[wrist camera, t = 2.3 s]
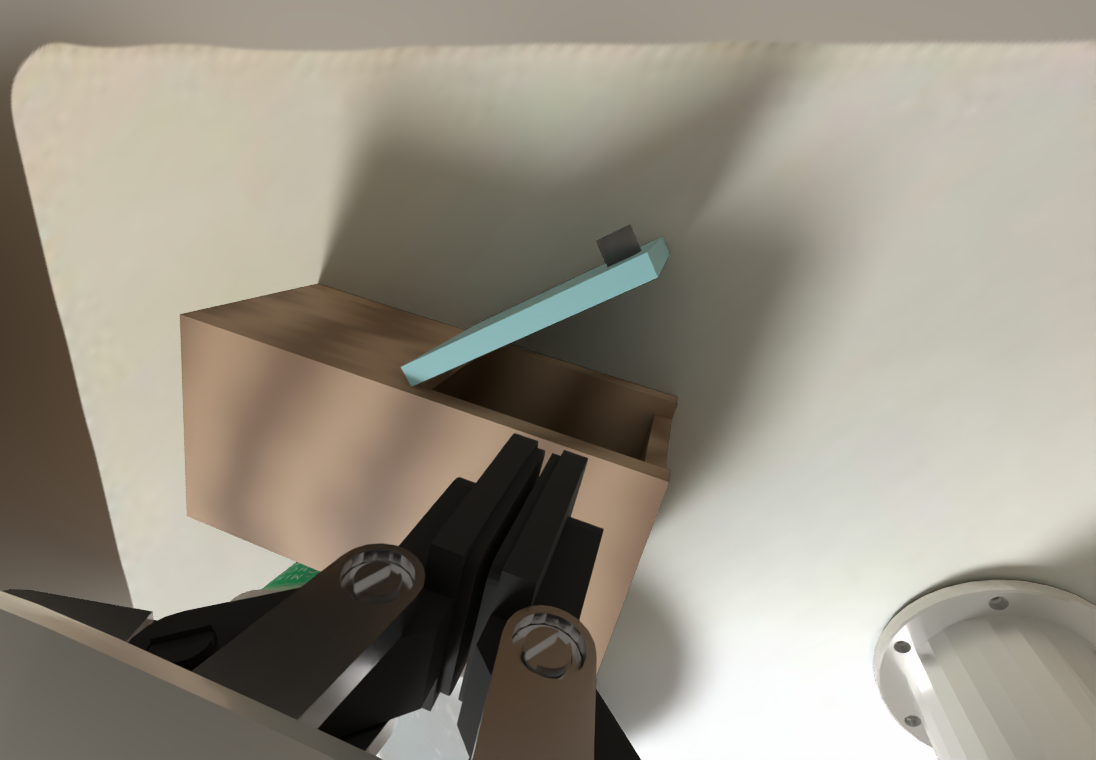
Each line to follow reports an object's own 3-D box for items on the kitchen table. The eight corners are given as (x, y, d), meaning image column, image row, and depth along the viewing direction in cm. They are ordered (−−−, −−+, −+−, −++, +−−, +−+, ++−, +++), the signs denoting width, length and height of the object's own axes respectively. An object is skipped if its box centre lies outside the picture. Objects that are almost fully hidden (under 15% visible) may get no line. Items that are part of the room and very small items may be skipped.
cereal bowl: (618, 610, 37) (601, 699, 30) (634, 785, 41) (622, 894, 35) (401, 590, 41) (346, 663, 35) (438, 749, 46) (396, 838, 40)
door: (653, 214, 27) (633, 221, 19) (669, 254, 28) (657, 277, 20) (468, 305, 32) (387, 342, 23) (485, 338, 32) (411, 386, 24)
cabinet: (677, 397, 31) (668, 482, 21) (620, 558, 35) (592, 685, 26) (317, 283, 35) (179, 314, 25) (306, 441, 39) (186, 515, 30)
